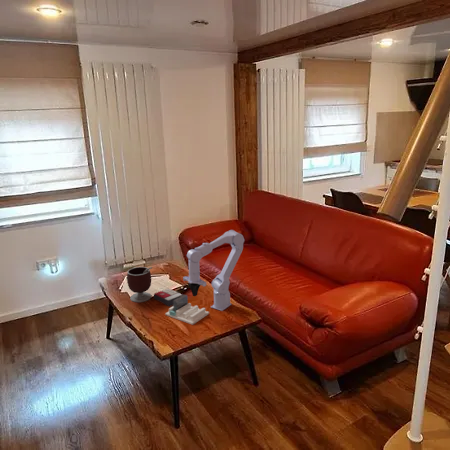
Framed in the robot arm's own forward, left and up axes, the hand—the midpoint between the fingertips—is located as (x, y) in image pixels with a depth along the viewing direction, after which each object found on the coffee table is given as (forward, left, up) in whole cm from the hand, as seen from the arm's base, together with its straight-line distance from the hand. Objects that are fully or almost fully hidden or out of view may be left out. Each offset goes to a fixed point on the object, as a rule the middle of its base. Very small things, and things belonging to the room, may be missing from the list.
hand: (194, 295), depth 209 cm
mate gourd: (+3, -39, -11) cm, 40 cm away
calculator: (-4, -24, -11) cm, 27 cm away
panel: (+3, -8, -9) cm, 13 cm away
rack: (+4, -3, -10) cm, 11 cm away
